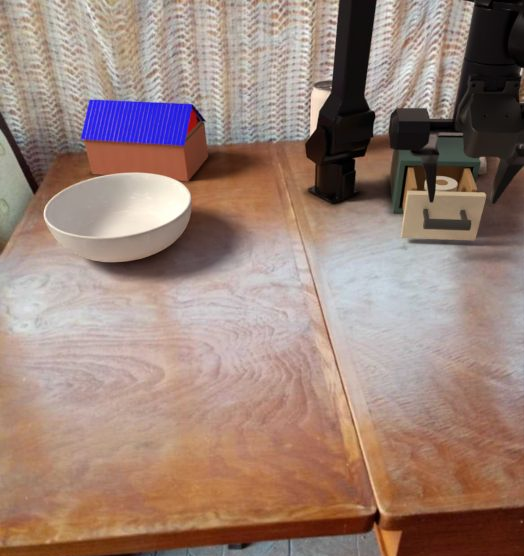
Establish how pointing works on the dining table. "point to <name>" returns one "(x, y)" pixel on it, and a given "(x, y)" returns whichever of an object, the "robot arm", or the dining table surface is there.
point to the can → (318, 101)
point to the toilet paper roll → (444, 184)
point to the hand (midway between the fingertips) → (461, 202)
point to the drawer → (441, 206)
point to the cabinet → (448, 156)
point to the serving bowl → (119, 216)
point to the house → (144, 138)
